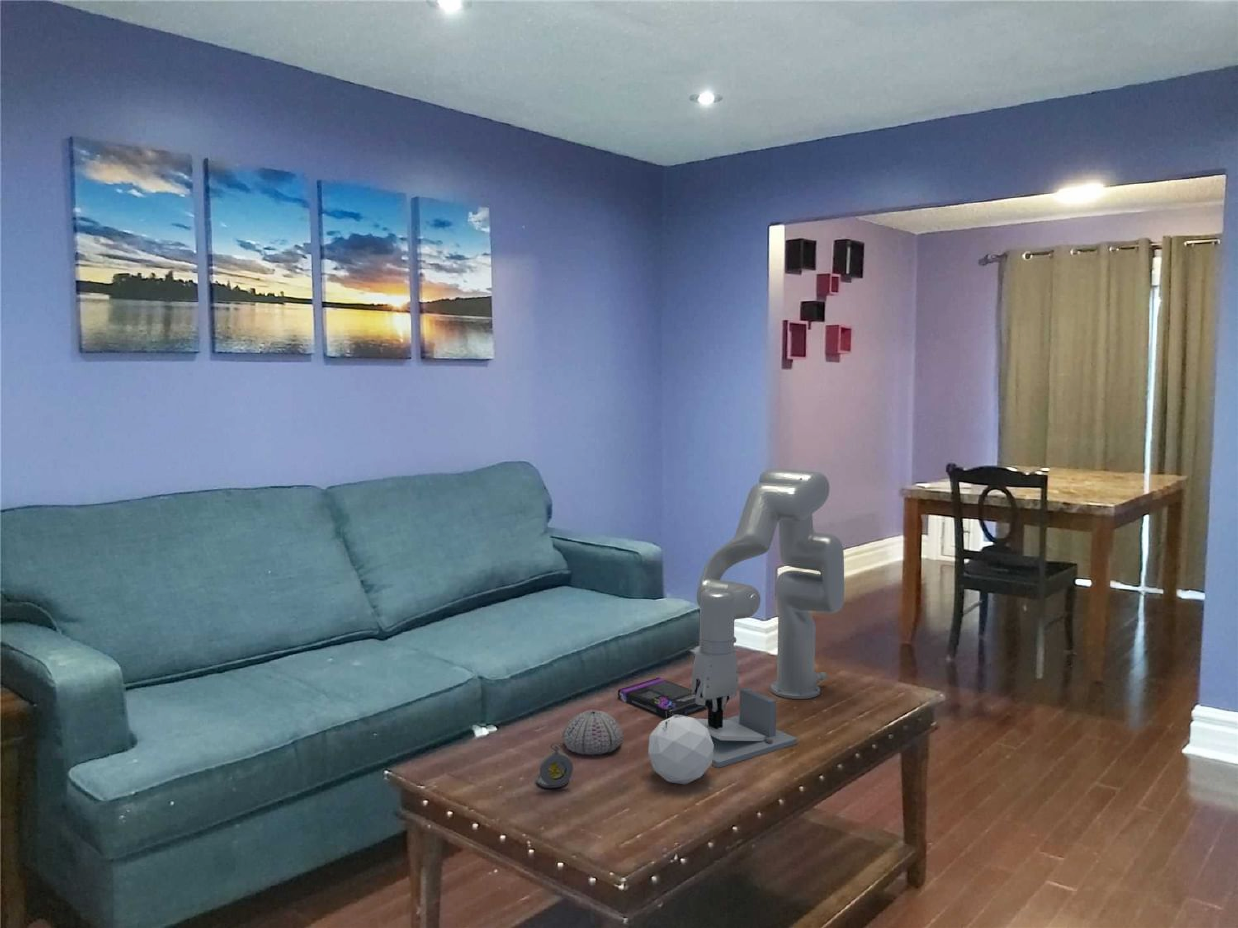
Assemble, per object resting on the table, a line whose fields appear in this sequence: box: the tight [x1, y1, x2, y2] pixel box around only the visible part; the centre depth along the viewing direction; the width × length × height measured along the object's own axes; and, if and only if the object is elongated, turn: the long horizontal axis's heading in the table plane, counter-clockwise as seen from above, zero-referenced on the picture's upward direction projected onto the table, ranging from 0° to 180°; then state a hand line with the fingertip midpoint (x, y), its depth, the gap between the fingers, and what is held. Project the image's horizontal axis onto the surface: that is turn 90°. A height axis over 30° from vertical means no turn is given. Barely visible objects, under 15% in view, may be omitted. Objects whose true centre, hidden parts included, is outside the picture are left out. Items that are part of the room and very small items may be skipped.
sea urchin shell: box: [561, 709, 624, 756], centre depth 211 cm, size 13×14×8 cm
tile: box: [694, 718, 765, 741], centre depth 213 cm, size 13×12×1 cm
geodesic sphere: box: [647, 714, 714, 785], centre depth 193 cm, size 14×14×14 cm
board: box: [710, 687, 798, 769], centre depth 213 cm, size 23×18×9 cm
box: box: [617, 677, 708, 720], centre depth 238 cm, size 14×4×20 cm
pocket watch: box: [535, 741, 574, 789], centre depth 191 cm, size 8×8×10 cm
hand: (715, 726), depth 211 cm, fingers closed
